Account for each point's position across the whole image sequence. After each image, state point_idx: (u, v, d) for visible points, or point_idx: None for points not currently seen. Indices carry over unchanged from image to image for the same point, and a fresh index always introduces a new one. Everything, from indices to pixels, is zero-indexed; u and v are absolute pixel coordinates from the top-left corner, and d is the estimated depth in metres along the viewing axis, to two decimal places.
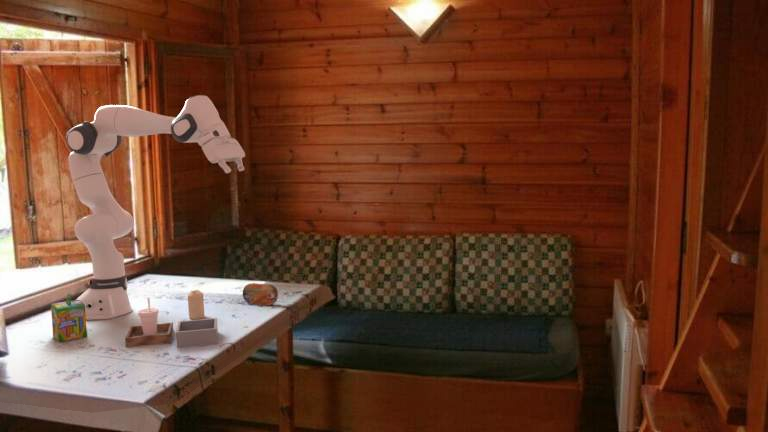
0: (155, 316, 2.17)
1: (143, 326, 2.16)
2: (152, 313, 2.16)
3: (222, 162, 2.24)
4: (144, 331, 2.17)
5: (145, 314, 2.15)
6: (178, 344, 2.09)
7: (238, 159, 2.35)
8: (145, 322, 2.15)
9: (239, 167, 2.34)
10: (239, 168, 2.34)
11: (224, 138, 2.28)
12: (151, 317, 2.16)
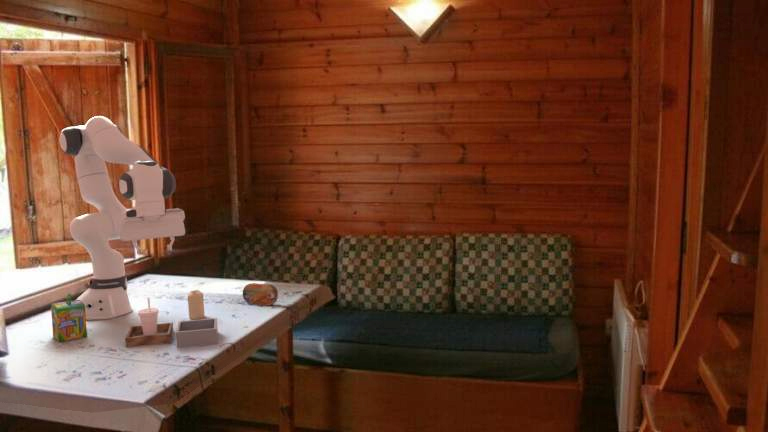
0: (155, 316, 2.17)
1: (143, 326, 2.16)
2: (152, 313, 2.16)
3: (132, 243, 2.13)
4: (144, 331, 2.17)
5: (145, 314, 2.15)
6: (178, 344, 2.09)
7: (170, 238, 2.16)
8: (145, 322, 2.15)
9: (167, 246, 2.17)
10: (167, 247, 2.17)
11: (147, 218, 2.11)
12: (151, 317, 2.16)
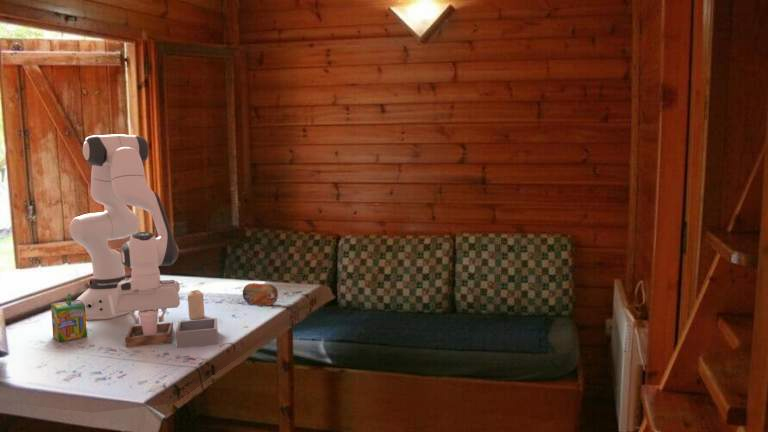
0: (155, 316, 2.17)
1: (143, 326, 2.16)
2: (152, 313, 2.16)
3: (130, 313, 2.16)
4: (144, 331, 2.17)
5: (145, 314, 2.15)
6: (178, 344, 2.09)
7: (161, 309, 2.18)
8: (145, 322, 2.15)
9: (158, 317, 2.19)
10: (159, 318, 2.19)
11: (141, 290, 2.14)
12: (151, 317, 2.16)
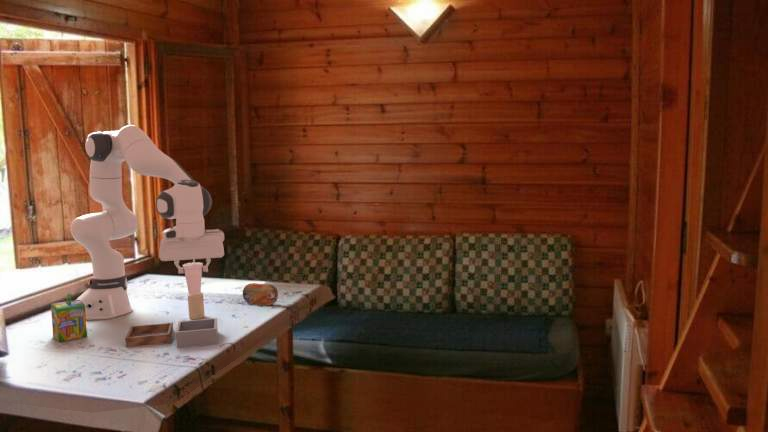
0: (200, 270, 2.13)
1: (188, 280, 2.12)
2: (197, 266, 2.11)
3: (174, 263, 2.11)
4: (189, 285, 2.12)
5: (190, 267, 2.10)
6: (178, 344, 2.09)
7: (206, 259, 2.14)
8: (190, 275, 2.11)
9: (203, 268, 2.14)
10: (203, 268, 2.15)
11: (186, 239, 2.09)
12: (196, 270, 2.11)
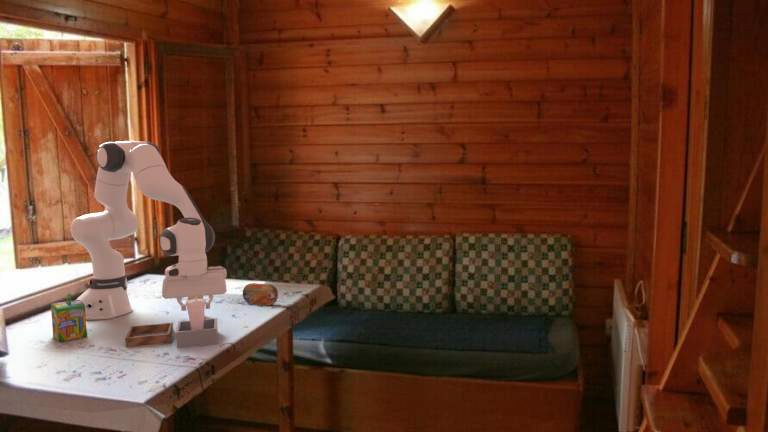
0: (202, 306, 2.14)
1: (190, 317, 2.13)
2: (200, 303, 2.13)
3: (177, 300, 2.13)
4: (191, 322, 2.14)
5: (193, 304, 2.12)
6: (178, 344, 2.09)
7: None
8: (192, 312, 2.13)
9: (205, 304, 2.16)
10: None
11: (189, 276, 2.11)
12: (199, 307, 2.13)
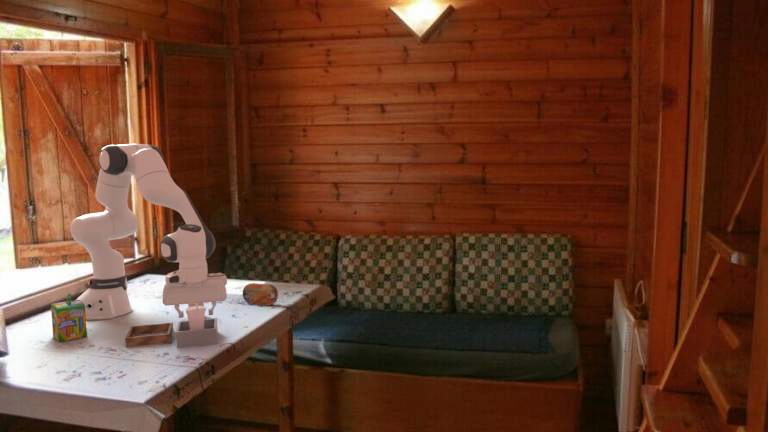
0: (203, 314, 2.15)
1: (191, 324, 2.14)
2: (200, 311, 2.13)
3: None
4: (191, 329, 2.14)
5: (193, 312, 2.12)
6: (178, 344, 2.09)
7: None
8: (192, 319, 2.13)
9: None
10: None
11: (189, 283, 2.11)
12: (199, 315, 2.13)
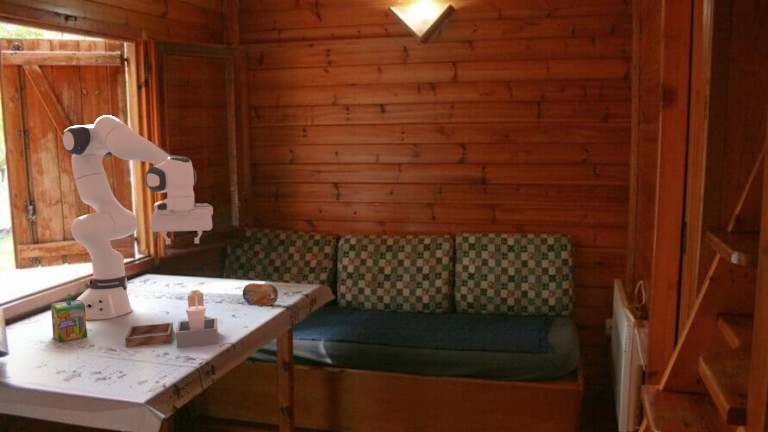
0: (203, 314, 2.15)
1: (191, 324, 2.14)
2: (200, 311, 2.13)
3: (162, 234, 2.24)
4: (192, 329, 2.14)
5: (193, 312, 2.12)
6: (178, 344, 2.09)
7: None
8: (193, 319, 2.13)
9: None
10: None
11: (177, 211, 2.21)
12: (199, 315, 2.13)
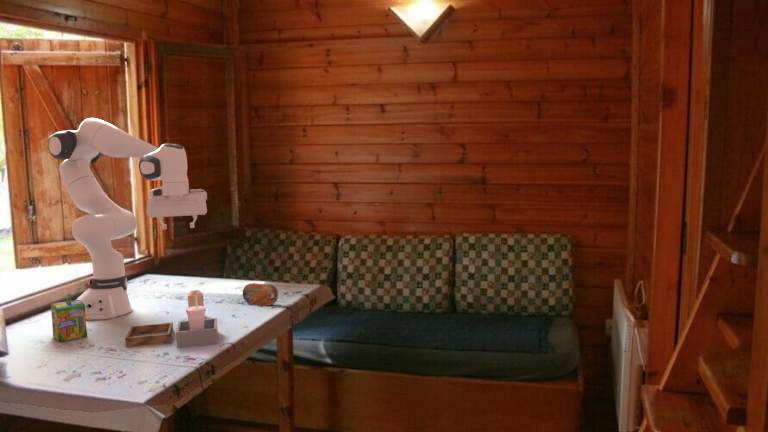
0: (203, 314, 2.15)
1: (191, 324, 2.14)
2: (200, 311, 2.13)
3: (158, 219, 2.31)
4: (192, 329, 2.14)
5: (193, 312, 2.12)
6: (178, 344, 2.09)
7: None
8: (193, 319, 2.13)
9: (190, 224, 2.34)
10: (190, 225, 2.34)
11: (172, 197, 2.29)
12: (199, 315, 2.13)
